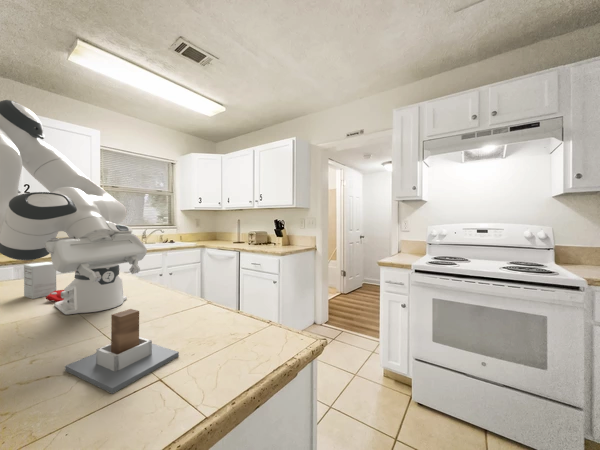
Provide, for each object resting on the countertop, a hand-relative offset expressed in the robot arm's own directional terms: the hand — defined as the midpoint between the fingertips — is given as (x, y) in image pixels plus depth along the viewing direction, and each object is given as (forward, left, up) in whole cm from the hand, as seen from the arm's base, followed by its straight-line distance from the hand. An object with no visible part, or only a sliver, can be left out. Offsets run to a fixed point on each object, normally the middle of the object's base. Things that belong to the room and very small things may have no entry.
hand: (118, 275), depth 64 cm
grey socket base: (+11, -5, -17) cm, 21 cm away
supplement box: (-68, +10, -17) cm, 71 cm away
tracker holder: (-53, +13, -17) cm, 58 cm away
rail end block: (+11, -5, -16) cm, 20 cm away
